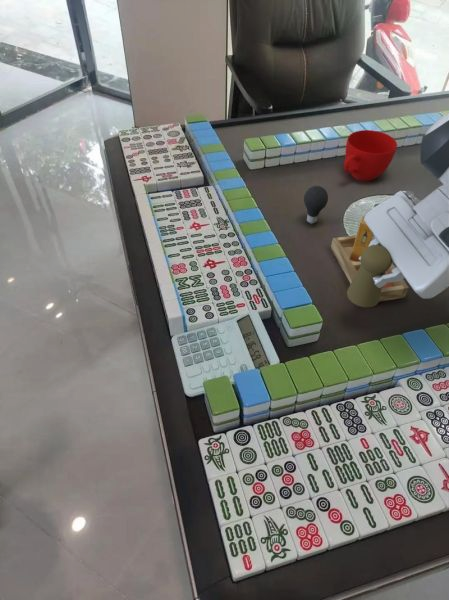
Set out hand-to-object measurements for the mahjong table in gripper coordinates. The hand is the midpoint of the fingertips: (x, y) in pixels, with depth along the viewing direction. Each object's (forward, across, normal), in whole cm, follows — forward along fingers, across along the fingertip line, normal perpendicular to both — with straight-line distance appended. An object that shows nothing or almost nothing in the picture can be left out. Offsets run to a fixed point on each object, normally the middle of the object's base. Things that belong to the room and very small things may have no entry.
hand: (368, 273), depth 76 cm
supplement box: (+3, -17, +16) cm, 23 cm away
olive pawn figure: (+4, 0, +5) cm, 6 cm away
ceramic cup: (-7, -48, +27) cm, 55 cm away
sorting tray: (+3, -12, +16) cm, 20 cm away
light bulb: (+7, -31, +12) cm, 34 cm away
